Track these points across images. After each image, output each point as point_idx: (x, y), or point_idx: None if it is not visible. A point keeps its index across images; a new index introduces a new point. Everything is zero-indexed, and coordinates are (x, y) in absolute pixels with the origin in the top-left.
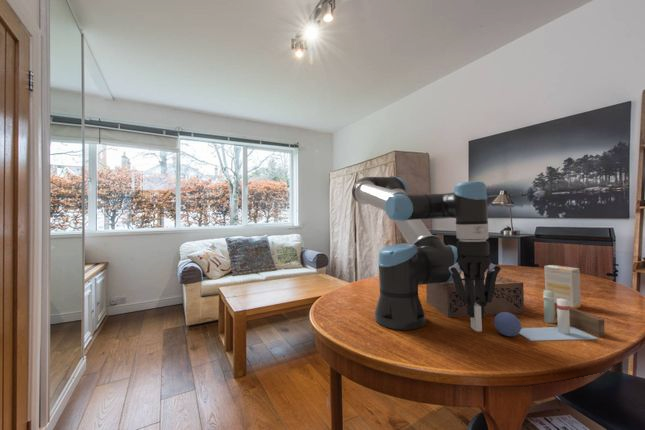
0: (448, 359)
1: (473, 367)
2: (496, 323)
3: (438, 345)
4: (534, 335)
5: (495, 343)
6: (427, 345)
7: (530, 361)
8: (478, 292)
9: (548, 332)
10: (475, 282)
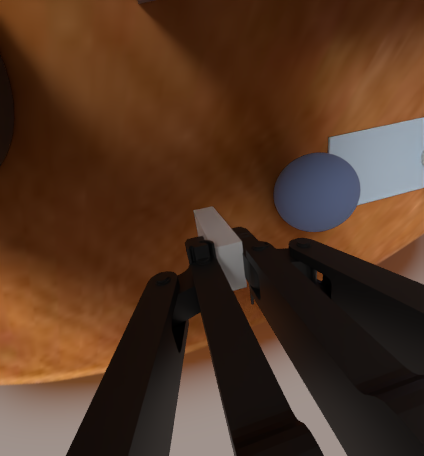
0: (100, 339)
1: None
2: (281, 204)
3: (78, 286)
4: None
5: None
6: (43, 293)
7: None
8: (275, 325)
9: (400, 156)
10: (319, 358)
